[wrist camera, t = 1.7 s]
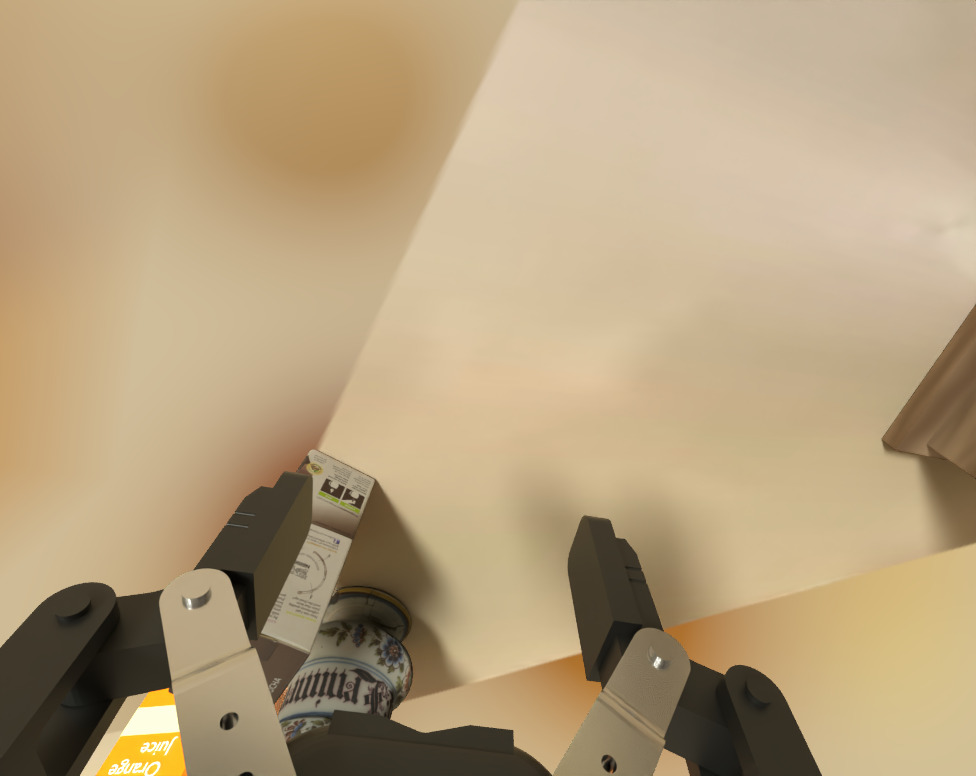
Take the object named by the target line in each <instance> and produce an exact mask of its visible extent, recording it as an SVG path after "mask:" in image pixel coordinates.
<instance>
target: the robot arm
mask: <svg viewBox="0 0 976 776" xmlns="http://www.w3.org/2000/svg"><path fill="white" fill-rule="evenodd" d="M312 503H313V477H312V475H307V474H300V473H294V472H286V471H285V472H284V473H283V474H282V475H281V477H280V478H279V480H278V481H277V483H276V484H275V486H274V487H273V488H268V487H262V486H261V487H260V488H258V489H257V490H255V491H254V492H252V493H251V494H249V495H248V496H246V497H245V498H244V500H243V501H242V503H241V504H240V505H239V507H238V508H237V510H236V511H235V514H233V515H232V517H231V518H230V519H229V521H228V523H227V525H226V526H224V528H223V529H222V531H221V532H220V533H219V535H218V536H217V538H216V539H215V541H214V542H213V543H212V545H211V546H210V548H209V549H208V550H207V552H206V553H205V555H204V556H203V557H202V559H201V560H200V562H199V563H198V564H197V566H196V567H195V569H194V570H193V571H190V572H188V573H185V574H183V575H181V576H179V577H177V578H176V579H175V580H173V581H172V582H171V583H169V585H168V586H167V587H166V588H165V589H163V590H160V591H156V592H151V593H145V594H138V595H130V596H122V597H116V594H115V592H114V590H113V589H112V588H111V587H109V586H108V585H106V584H103V583H94V582H91V583H83V584H78V585H74V586H71V587H68V588H66V589H63V590H61V591H59V592H57V593H55V594H53V595H52V596H50V597H49V598H47V599H46V600H45V601H44V602H42V603H41V604H40V605H39V606H38V607H37V608H36V609H35V610H34V612H32V614H31V615H30V616H29V617H28V618H27V619H26V620H25V621H24V622H23V624H22V625H21V626H20V627H19V628H18V629H17V630H16V631H15V632H14V634H13V635H12V636H11V637H10V638H9V639H8V640H7V641H6V642H5V643H4V644H3V645H2V647H1V648H0V776H80V774H81V772H82V771H83V769H84V767H85V766H86V764H87V762H88V761H89V759H90V757H91V756H92V754H93V753H94V751H95V749H96V748H97V746H98V744H99V743H100V741H101V739H102V738H103V736H104V734H105V733H106V731H107V729H108V727H109V726H110V724H111V723H112V721H113V719H114V718H115V716H116V714H117V713H118V711H119V709H120V708H121V706H122V704H123V703H124V701H125V699H126V698H127V697H128V696H132V695H137V694H143V693H147V692H153V691H158V690H163V689H168V688H172V689H173V695H174V701H175V707H176V713H177V719H178V726H179V732H180V738H181V744H182V750H183V756H184V762H185V768H186V774H187V776H552V775H551V774H550V772H549V771H548V770H547V769H546V768H545V767H544V766H543V765H542V764H541V763H540V762H538V761H537V760H536V759H535V758H533V757H532V756H531V755H529V754H527V753H526V752H524V751H523V750H521V749H519V748H517V747H514V740H513V730H506V729H497V728H489V727H480V726H472V725H469V726H464V727H458V728H452V729H447V730H441V731H435V732H429V733H422V732H418V731H416V730H414V729H411V728H409V727H407V726H404V725H402V724H400V723H397V722H395V721H393V720H390V719H388V718H386V717H383V716H381V715H377V714H369V713H360V712H351V711H343V710H334V712H333V716H332V719H331V723H330V725H326V726H321V727H317V728H314V729H311V730H308V731H306V732H304V733H301V734H299V735H297V736H295V737H294V738H292V739H290V740H288V741H287V742H286V741H285V738H284V735H283V732H282V729H281V726H280V723H279V719H278V716H277V713H276V710H275V707H274V704H273V700H272V697H271V694H270V691H269V688H268V685H267V682H266V678H265V675H264V672H263V669H262V666H261V663H260V659H259V656H258V654H257V651H256V649H255V647H254V646H253V647H251V645H250V642H249V640H256V641H257V640H258V638H259V636H260V634H261V632H262V630H263V628H264V626H265V624H266V622H267V619H268V617H269V615H270V613H271V611H272V609H273V607H274V605H275V603H276V601H277V599H278V597H279V594H280V592H281V590H282V588H283V586H284V584H285V582H286V580H287V578H288V576H289V574H290V572H291V569H292V567H293V565H294V563H295V561H296V559H297V557H298V555H299V553H300V551H301V549H302V547H303V544H304V542H305V540H306V538H307V536H308V533H309V530H310V526H311V521H312ZM641 569H642V568H641V565H640V563H639V560H638V557H637V554H636V552H635V551H634V550H633V549H632V547H631V546H630V545H629V544H628V542H627V541H626V540H625V539H620V538H616V537H615V534H614V530H613V527H612V524H611V521H610V520H609V519H605V518H598V517H592V516H583V517H582V519H581V521H580V524H579V527H578V530H577V533H576V536H575V538H574V541H573V544H572V547H571V550H570V553H569V558H568V576H569V581H570V587H571V593H572V599H573V604H574V610H575V616H576V622H577V627H578V633H579V639H580V644H581V650H582V656H583V662H584V667H585V673H586V679H587V680H588V681H596V682H601V686H602V691H601V693H600V694H599V696H598V697H597V699H596V701H595V703H594V705H593V706H592V708H591V710H590V711H589V713H588V715H587V717H586V718H585V720H584V722H583V723H582V725H581V727H580V729H579V730H578V732H577V734H576V736H575V737H574V739H573V741H572V743H571V744H570V746H569V748H568V750H567V751H566V753H565V755H564V757H563V758H562V760H561V762H560V763H559V765H558V767H557V769H556V770H555V772H554V774H553V776H653V773H654V771H655V768H656V766H657V763H658V760H659V758H660V755H661V753H662V750H663V748H664V749H666V750H668V751H671V752H673V753H675V754H677V755H679V756H681V757H683V758H685V759H686V763H687V766H688V770H689V774H690V776H822V775H821V773H820V771H819V768H818V766H817V764H816V762H815V760H814V758H813V756H812V754H811V752H810V750H809V748H808V745H807V743H806V741H805V739H804V737H803V735H802V733H801V731H800V729H799V726H798V724H797V722H796V720H795V718H794V716H793V714H792V712H791V710H790V708H789V706H788V703H787V702H786V699H785V698H784V696H783V694H782V693H781V691H780V690H779V689H778V687H777V686H776V685H775V684H774V683H773V682H772V681H771V680H770V679H769V678H768V677H766V676H765V675H764V674H762V673H761V672H759V671H757V670H755V669H753V668H751V667H748V666H744V665H735V666H733V667H731V668H730V669H729V670H728V671H727V672H726V674H725V675H723V674H721V673H719V672H716V671H714V670H711V669H709V668H707V667H705V666H702V665H700V664H698V663H696V662H694V661H692V660H690V659H689V657H688V655H687V653H686V651H685V650H684V648H683V647H682V646H681V644H680V643H679V642H678V641H677V640H676V639H675V638H673V637H672V636H671V635H669V634H667V633H666V632H664V630H663V628H662V625H661V622H660V619H659V617H658V614H657V611H656V608H655V605H654V602H653V599H652V597H651V594H650V591H649V588H648V585H647V584H646V580H645V577H644V574H643V572H642V571H641Z"/></svg>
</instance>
